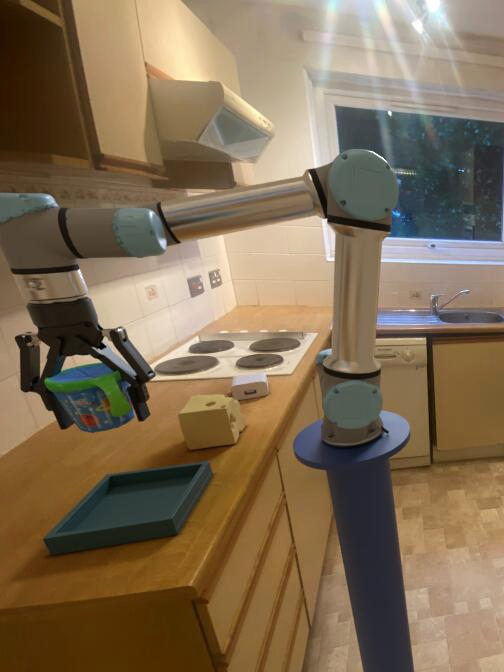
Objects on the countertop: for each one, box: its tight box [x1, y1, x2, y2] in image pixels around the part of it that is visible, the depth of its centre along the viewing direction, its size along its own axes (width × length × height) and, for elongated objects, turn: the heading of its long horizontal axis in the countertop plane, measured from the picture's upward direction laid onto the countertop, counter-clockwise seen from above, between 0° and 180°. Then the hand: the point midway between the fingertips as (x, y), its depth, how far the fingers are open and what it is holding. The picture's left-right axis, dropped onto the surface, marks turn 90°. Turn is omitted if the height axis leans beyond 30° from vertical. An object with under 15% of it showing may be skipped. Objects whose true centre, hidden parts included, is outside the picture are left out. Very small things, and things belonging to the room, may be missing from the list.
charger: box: [230, 371, 270, 401], centre depth 135 cm, size 5×9×15 cm
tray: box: [42, 460, 214, 556], centre depth 82 cm, size 18×19×4 cm
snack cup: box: [44, 361, 135, 434], centre depth 75 cm, size 16×10×10 cm
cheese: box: [177, 393, 247, 451], centre depth 105 cm, size 10×11×10 cm
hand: (107, 422), depth 77 cm, fingers closed on snack cup, 11 cm apart
